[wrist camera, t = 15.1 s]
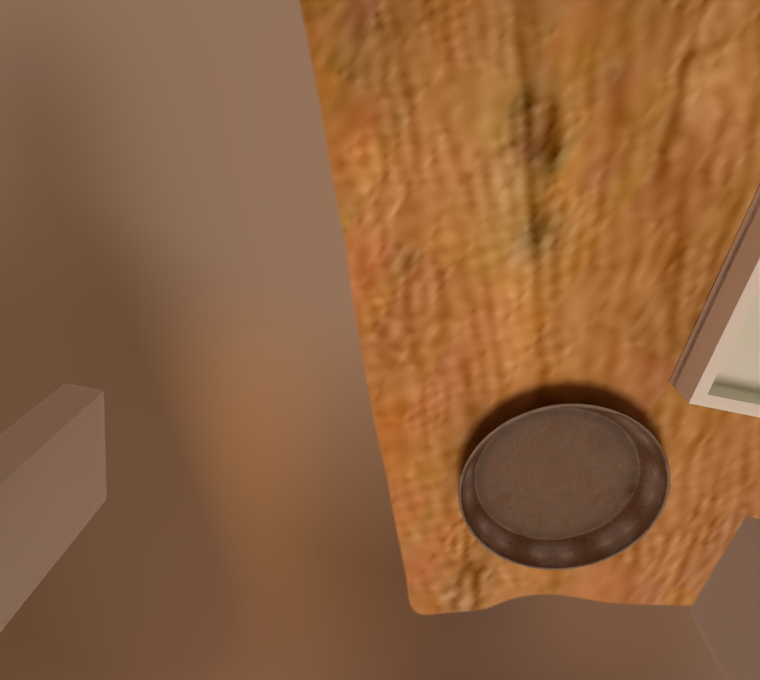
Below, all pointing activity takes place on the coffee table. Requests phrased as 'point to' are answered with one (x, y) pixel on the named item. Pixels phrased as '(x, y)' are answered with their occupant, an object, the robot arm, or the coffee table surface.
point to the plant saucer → (564, 486)
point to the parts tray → (728, 332)
